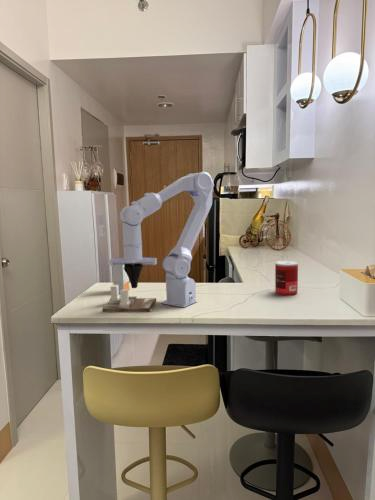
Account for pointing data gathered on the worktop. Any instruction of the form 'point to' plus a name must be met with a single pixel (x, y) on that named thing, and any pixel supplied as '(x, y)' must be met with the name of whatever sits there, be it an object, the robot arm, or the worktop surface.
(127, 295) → the knob front
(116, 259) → the robot arm
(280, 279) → the canned food
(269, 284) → the worktop surface
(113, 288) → the knob back
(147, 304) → the switch board
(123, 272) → the skincare box
